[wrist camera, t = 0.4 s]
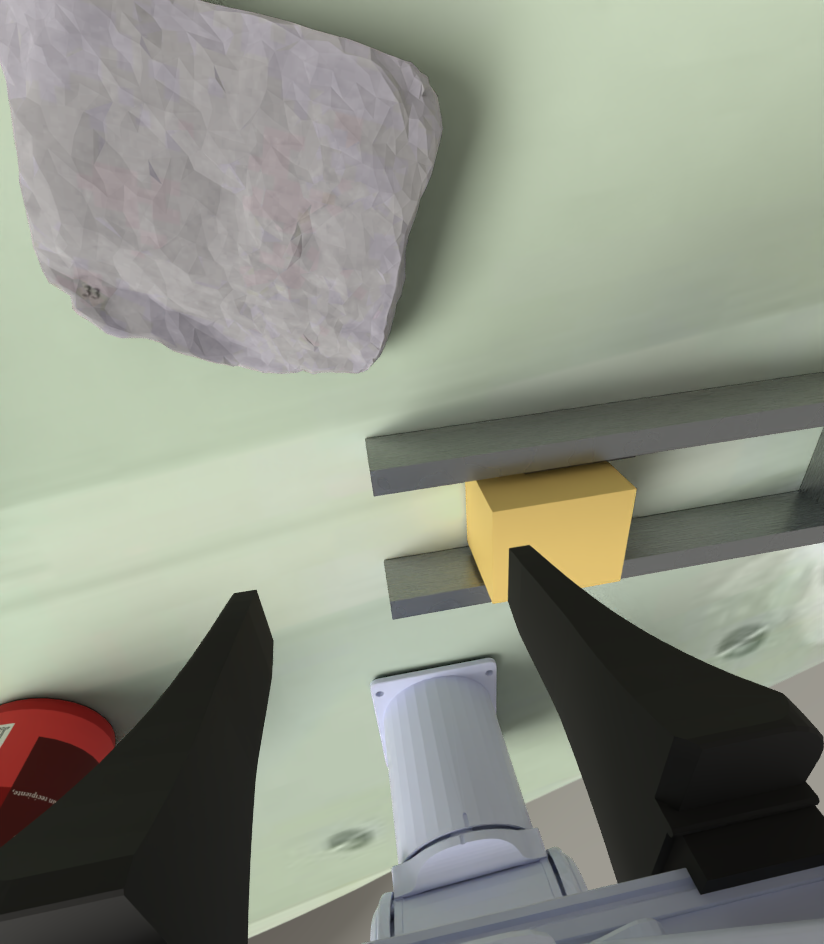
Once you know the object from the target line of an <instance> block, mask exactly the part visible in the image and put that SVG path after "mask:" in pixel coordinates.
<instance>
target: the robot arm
mask: <svg viewBox="0 0 824 944" xmlns="http://www.w3.org/2000/svg"><path fill="white" fill-rule="evenodd" d="M508 602H509V605H510V608H511V611H512V614H513V617H514V620H515V623H516V626H517V628H518V631H519V633H520V636H521V638H522V640H523V642H524V644H525V646H526V648H527V650H528V652H529V654H530V656H531V658H532V660H533V662H534V664H535V666H536V668H537V670H538V672H539V674H540V676H541V678H542V680H543V682H544V684H545V687H546V689H547V691H548V693H549V695H550V697H551V699H552V701H553V703H554V705H555V707H556V710H557V712H558V714H559V716H560V719H561V721H562V724H563V727H564V729H565V732H566V735H567V737H568V740H569V742H570V745H571V748H572V750H573V753H574V756H575V759H576V761H577V764H578V767H579V770H580V772H581V775H582V778H583V780H584V783H585V786H586V789H587V791H588V795H589V798H590V801H591V804H592V806H593V809H594V812H595V815H596V818H597V821H598V824H599V827H600V830H601V833H602V836H603V839H604V842H605V845H606V848H607V851H608V855H609V858H610V860H611V864H612V867H613V870H614V873H615V876H616V879H617V882H618V884H614V885H610V886H606V887H601V888H597V889H592V890H588V889H587V886H586V884H585V882H584V880H583V877H582V875H581V873H580V871H579V869H578V867H577V865H576V864H575V862H574V861H573V860H572V859H571V858H570V857H569V856H567V855H566V854H564V853H563V852H562V851H561V849H560V848H558V847H552V848H550V849H547V850H545V847H544V845H543V841H542V838H541V835H540V832H539V829H538V828H533V827H532V824H531V821H530V818H529V815H528V812H527V809H526V805H525V802H524V799H523V796H522V793H521V790H520V787H519V784H518V781H517V778H516V775H515V772H514V769H513V765H512V762H511V759H510V756H509V753H508V750H507V747H506V744H505V741H504V738H503V735H502V732H501V729H500V725H499V722H498V719H497V716H496V681H497V666H496V663H495V660H494V659H493V658H484V659H479V660H473V661H468V662H463V663H458V664H452V665H447V666H442V667H436V668H431V669H426V670H421V671H415V672H410V673H405V674H400V675H394V676H389V677H384V678H378V679H375V680H373V681H372V682H371V683H370V689H371V694H372V699H373V704H374V708H375V713H376V718H377V723H378V728H379V732H380V737H381V742H382V747H383V751H384V756H385V761H386V765H387V767H388V769H389V778H390V788H391V797H392V807H393V817H394V826H395V836H396V845H397V855H398V865H396V866H393V867H392V879H393V890H394V892H388V893H385V894H383V895H382V897H381V899H380V901H379V905H378V907H377V909H376V911H375V913H374V915H373V919H372V925H371V937H370V942H366V943H362V944H824V816H823V815H822V814H821V812H820V811H819V810H818V809H817V807H816V806H815V805H818V803H819V798H818V796H817V795H816V793H815V792H814V791H813V790H812V789H811V787H810V786H809V785H808V784H807V783H806V780H807V778H808V776H809V775H810V773H811V771H812V770H813V768H814V766H815V764H816V763H817V762H818V760H819V758H820V756H821V754H822V751H823V748H824V742H823V736H822V734H821V733H820V732H819V731H818V730H817V728H816V727H815V726H814V725H813V724H812V723H811V722H810V721H809V720H808V719H807V717H806V716H805V715H804V714H803V713H802V712H801V711H800V710H799V709H798V708H797V707H796V706H795V705H794V704H793V703H792V702H791V701H790V700H789V699H788V698H787V697H786V696H785V695H784V694H783V693H780V692H778V691H775V690H772V689H770V688H767V687H765V686H762V685H759V684H757V683H754V682H751V681H749V680H746V679H743V678H741V677H738V676H735V675H733V674H731V673H728V672H726V671H724V670H721V669H719V668H717V667H714V666H712V665H710V664H708V663H705V662H703V661H701V660H699V659H697V658H695V657H693V656H690V655H688V654H686V653H684V652H682V651H680V650H678V649H676V648H675V647H673V646H671V645H669V644H667V643H665V642H663V641H661V640H659V639H657V638H656V637H654V636H652V635H650V634H648V633H647V632H645V631H643V630H642V629H640V628H638V627H637V626H635V625H634V624H632V623H630V622H629V621H627V620H625V619H624V618H622V617H621V616H619V615H618V614H616V613H615V612H613V611H612V610H610V609H609V608H607V607H606V606H605V605H603V604H602V603H600V602H599V601H598V600H596V599H595V598H593V597H592V596H591V595H589V594H588V593H587V592H586V591H584V590H583V589H582V588H581V587H579V586H578V585H577V584H575V583H574V582H573V581H572V580H570V579H569V578H568V577H567V576H566V575H564V574H563V573H562V572H561V571H560V570H558V569H557V568H556V567H555V566H554V565H552V564H551V563H550V562H549V561H548V560H547V559H545V558H544V557H543V556H542V555H541V554H540V553H539V552H537V551H536V550H535V549H534V548H533V547H531V546H530V545H525V546H519V547H513V548H509V567H508ZM272 666H273V638H272V635H271V632H270V629H269V626H268V623H267V620H266V617H265V614H264V611H263V608H262V605H261V602H260V599H259V596H258V593H257V590H252V591H246V592H239V593H234V594H233V595H232V597H231V598H230V600H229V601H228V603H227V604H226V606H225V607H224V609H223V610H222V612H221V614H220V615H219V617H218V618H217V620H216V621H215V623H214V624H213V626H212V627H211V629H210V630H209V632H208V633H207V635H206V636H205V638H204V639H203V641H202V642H201V644H200V645H199V647H198V648H197V649H196V651H195V652H194V654H193V655H192V657H191V658H190V659H189V661H188V662H187V664H186V665H185V666H184V668H183V669H182V670H181V671H180V673H179V674H178V675H177V677H176V678H175V679H174V681H173V682H172V683H171V685H170V686H169V687H168V689H167V690H166V691H165V692H164V693H163V695H162V696H161V697H160V698H159V700H158V701H157V702H156V703H155V704H154V706H153V707H152V708H151V709H150V710H149V711H148V712H147V714H146V715H145V716H144V717H143V718H142V719H141V720H140V722H139V723H138V724H137V725H136V726H135V727H134V728H133V729H132V730H131V731H130V732H129V733H128V734H127V735H126V736H125V737H124V739H123V740H122V741H121V742H120V743H119V744H118V745H117V746H116V747H115V748H114V749H113V750H112V751H111V752H110V753H109V754H108V755H107V756H106V757H105V758H104V759H103V760H102V761H101V762H100V763H99V764H98V765H97V766H96V767H94V768H93V769H92V770H91V771H90V772H89V773H88V774H87V775H86V776H85V777H84V778H83V779H82V780H80V781H79V782H78V783H77V784H76V785H75V786H74V787H73V788H72V789H70V790H69V791H68V792H67V793H66V794H65V795H64V796H62V797H61V798H60V799H59V800H58V801H57V802H56V803H54V804H53V805H52V806H51V807H50V808H49V809H47V810H46V811H45V812H44V813H43V814H41V815H40V816H39V817H38V818H37V819H35V820H34V821H33V822H32V823H30V824H29V825H28V826H27V827H25V828H24V829H23V830H22V831H20V832H19V833H18V834H17V835H15V836H14V837H13V838H12V839H11V840H9V841H8V842H7V843H6V844H4V845H3V846H2V847H0V944H248V907H249V882H250V858H251V840H252V823H253V808H254V794H255V781H256V772H257V764H258V757H259V751H260V745H261V739H262V733H263V727H264V722H265V716H266V710H267V704H268V698H269V692H270V686H271V679H272Z"/></svg>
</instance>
